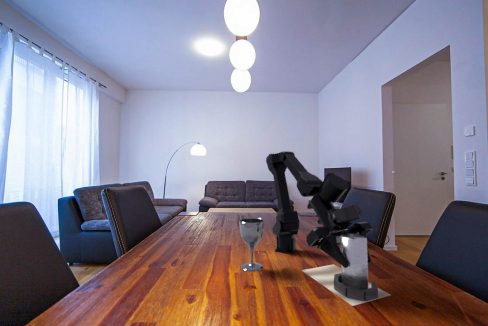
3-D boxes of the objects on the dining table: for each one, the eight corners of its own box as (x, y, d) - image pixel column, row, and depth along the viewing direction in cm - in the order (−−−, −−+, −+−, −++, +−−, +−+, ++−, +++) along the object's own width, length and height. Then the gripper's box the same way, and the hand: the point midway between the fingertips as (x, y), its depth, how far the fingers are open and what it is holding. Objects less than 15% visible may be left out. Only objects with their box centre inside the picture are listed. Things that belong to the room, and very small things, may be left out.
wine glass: (266, 263, 74) (266, 218, 75) (260, 273, 66) (260, 223, 67) (244, 260, 77) (244, 217, 77) (236, 270, 69) (235, 222, 70)
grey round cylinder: (340, 291, 54) (338, 238, 55) (343, 281, 59) (342, 232, 60) (368, 298, 51) (366, 241, 52) (368, 287, 56) (367, 235, 57)
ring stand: (301, 273, 66) (301, 263, 66) (333, 267, 70) (333, 257, 71) (352, 310, 49) (352, 296, 49) (391, 299, 53) (390, 286, 53)
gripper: (312, 196, 57) (346, 254, 46) (366, 193, 63) (407, 243, 52) (295, 220, 64) (322, 276, 53) (345, 216, 70) (378, 264, 59)
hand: (358, 264), depth 54 cm, fingers open, 7 cm apart
